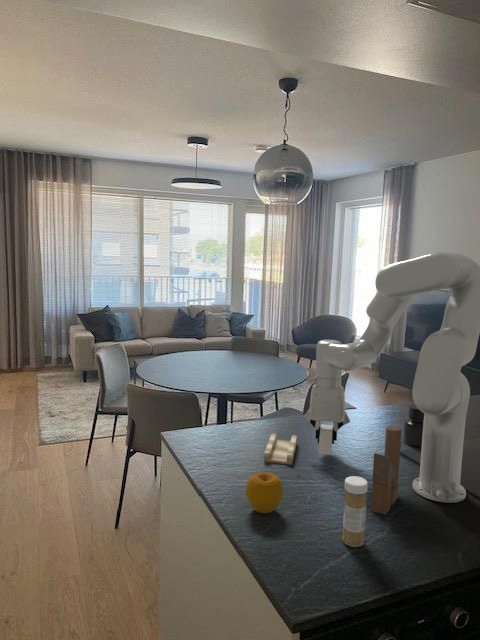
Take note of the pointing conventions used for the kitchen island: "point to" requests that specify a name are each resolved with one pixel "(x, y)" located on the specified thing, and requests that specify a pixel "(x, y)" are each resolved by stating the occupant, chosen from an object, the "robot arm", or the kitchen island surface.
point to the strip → (325, 439)
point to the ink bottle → (414, 426)
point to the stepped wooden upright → (386, 472)
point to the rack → (280, 450)
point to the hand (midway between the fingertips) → (325, 441)
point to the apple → (264, 492)
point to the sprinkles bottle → (354, 511)
